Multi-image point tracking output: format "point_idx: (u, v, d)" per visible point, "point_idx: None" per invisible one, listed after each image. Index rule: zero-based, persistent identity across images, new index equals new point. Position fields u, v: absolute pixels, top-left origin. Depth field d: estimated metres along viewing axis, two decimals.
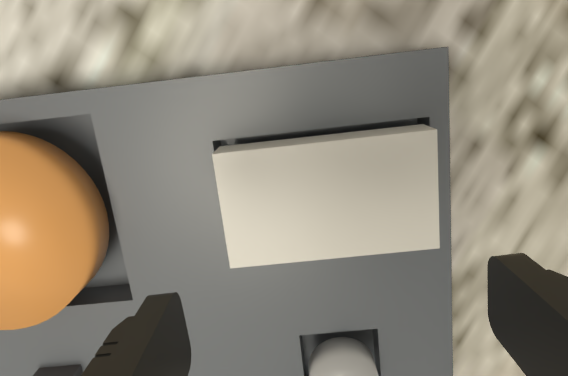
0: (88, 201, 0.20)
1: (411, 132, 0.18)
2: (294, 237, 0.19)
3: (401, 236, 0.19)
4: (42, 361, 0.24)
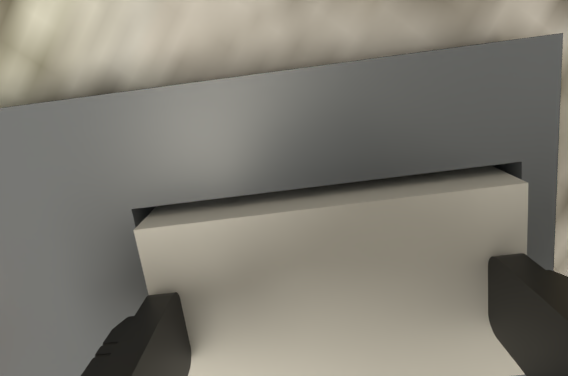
0: None
1: (482, 188, 0.10)
2: (281, 361, 0.12)
3: (460, 357, 0.11)
4: None
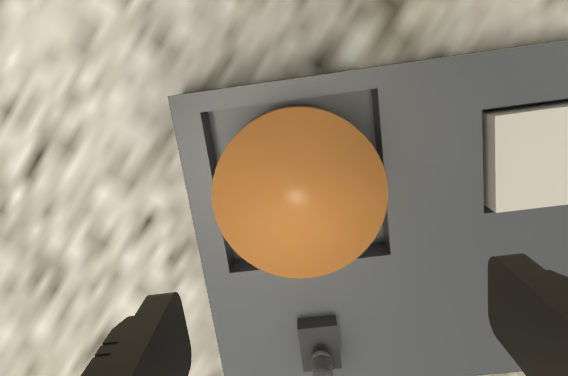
0: None
1: None
2: (554, 184, 0.23)
3: None
4: (301, 312, 0.27)
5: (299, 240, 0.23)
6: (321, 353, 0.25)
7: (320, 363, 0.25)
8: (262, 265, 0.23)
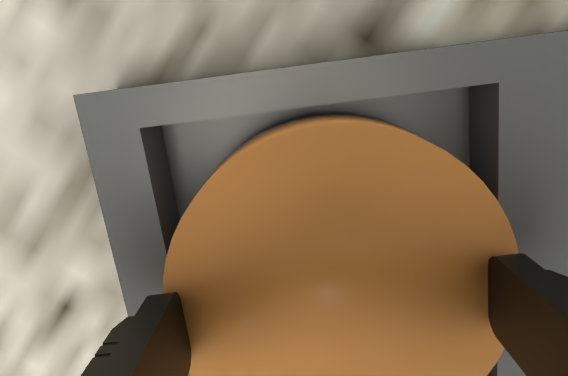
0: None
1: None
2: None
3: None
4: None
5: None
6: None
7: None
8: None
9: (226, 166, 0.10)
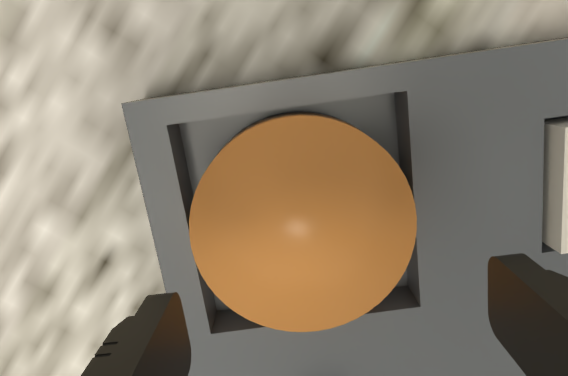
0: None
1: None
2: None
3: None
4: None
5: (303, 285, 0.18)
6: None
7: None
8: (256, 317, 0.18)
9: (228, 145, 0.16)
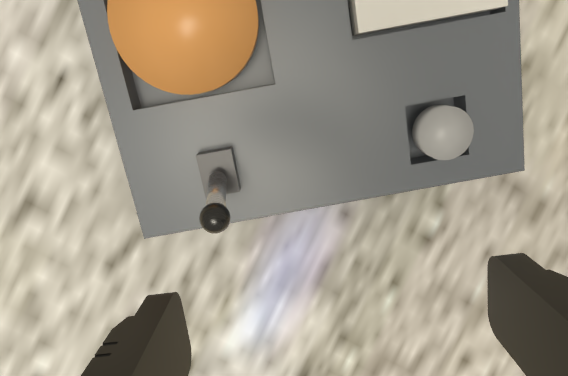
0: None
1: None
2: (405, 3, 0.27)
3: None
4: (201, 146, 0.30)
5: (187, 58, 0.27)
6: (216, 172, 0.28)
7: (214, 177, 0.28)
8: (158, 84, 0.27)
9: None
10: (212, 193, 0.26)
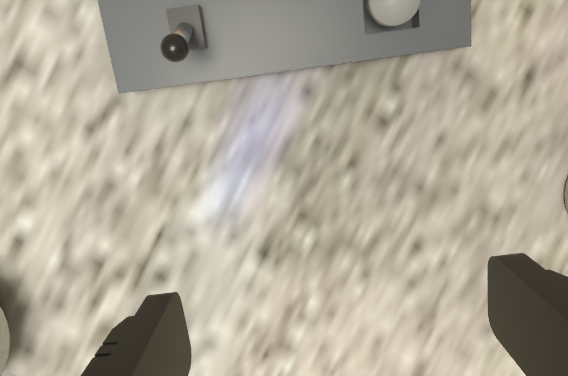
0: None
1: None
2: None
3: None
4: (172, 5, 0.33)
5: None
6: (183, 22, 0.31)
7: (179, 24, 0.30)
8: None
9: None
10: (175, 32, 0.29)
